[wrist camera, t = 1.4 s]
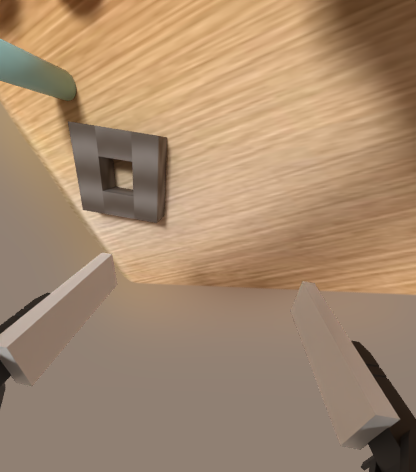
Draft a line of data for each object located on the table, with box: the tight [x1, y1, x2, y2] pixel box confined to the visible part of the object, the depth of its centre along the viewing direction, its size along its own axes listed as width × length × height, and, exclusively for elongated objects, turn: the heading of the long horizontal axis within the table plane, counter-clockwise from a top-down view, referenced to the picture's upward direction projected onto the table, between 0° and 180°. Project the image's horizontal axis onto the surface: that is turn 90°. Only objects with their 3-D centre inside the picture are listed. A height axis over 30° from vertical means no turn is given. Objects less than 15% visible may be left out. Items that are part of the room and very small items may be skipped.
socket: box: [68, 121, 167, 223], centre depth 32 cm, size 14×14×4 cm
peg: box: [0, 39, 76, 101], centre depth 23 cm, size 4×4×12 cm
